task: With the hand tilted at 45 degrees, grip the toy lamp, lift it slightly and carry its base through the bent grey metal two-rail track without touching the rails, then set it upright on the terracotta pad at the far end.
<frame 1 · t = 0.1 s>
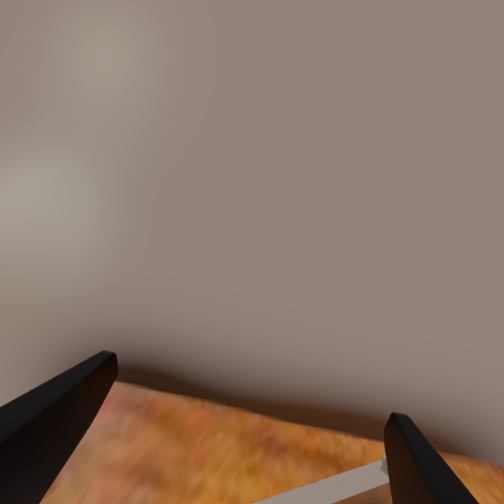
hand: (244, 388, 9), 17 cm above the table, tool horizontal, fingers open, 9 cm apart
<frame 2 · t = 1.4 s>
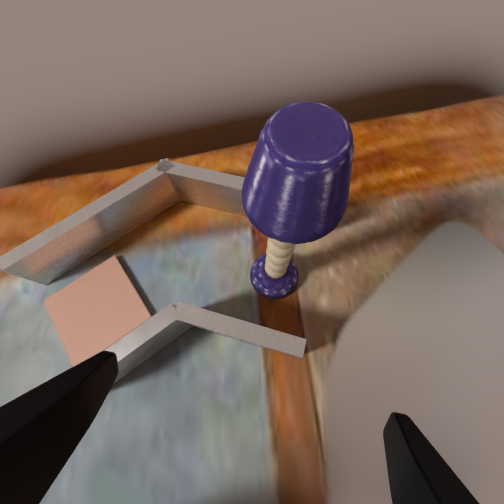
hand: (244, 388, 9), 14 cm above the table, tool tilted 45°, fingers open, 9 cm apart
bent rails: (185, 251, 25), on the table
end pad: (98, 309, 24), on the table
toy lamp: (277, 276, 24), on the table
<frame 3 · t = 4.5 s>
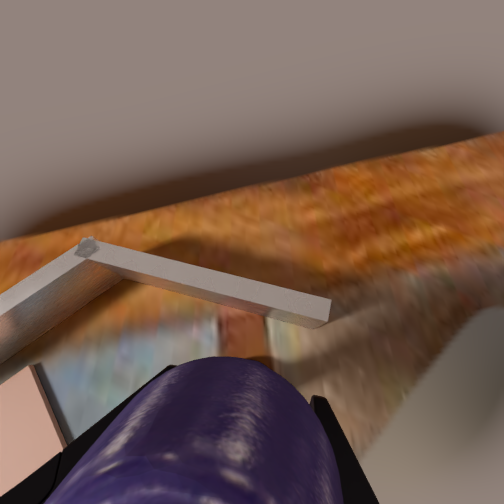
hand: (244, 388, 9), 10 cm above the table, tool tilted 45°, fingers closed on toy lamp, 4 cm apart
bent rails: (126, 355, 18), on the table
end pad: (1, 450, 17), on the table
toy lamp: (252, 395, 17), on the table, touching gripper
when the fingers open (10 cm above the table, at t = 10.5 s): toy lamp stays where it is, resting on end pad.
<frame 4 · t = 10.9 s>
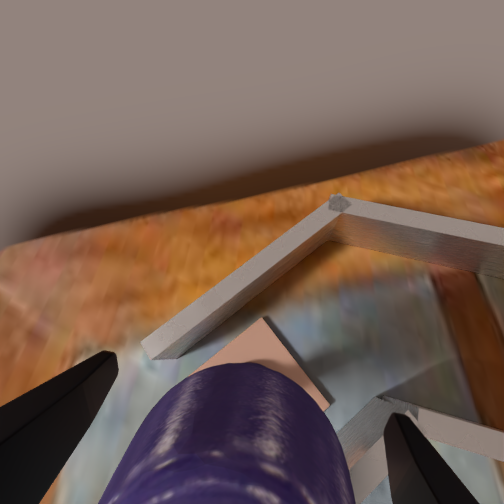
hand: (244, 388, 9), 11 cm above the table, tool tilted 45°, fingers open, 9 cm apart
bent rails: (350, 309, 20), on the table
end pad: (253, 393, 18), on the table
toy lamp: (255, 397, 18), resting on end pad
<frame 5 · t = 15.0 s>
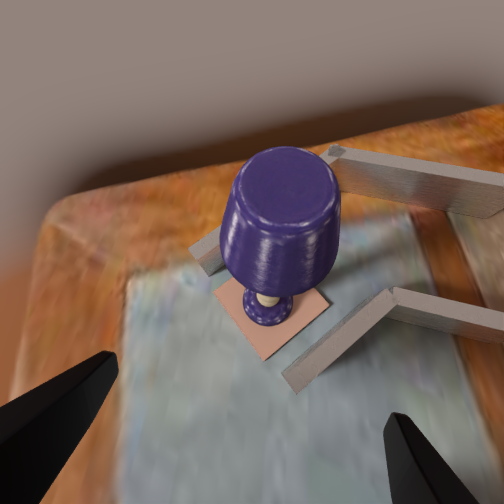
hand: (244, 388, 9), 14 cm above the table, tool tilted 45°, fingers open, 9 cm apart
bent rails: (345, 238, 25), on the table
end pad: (270, 299, 23), on the table
toy lamp: (271, 301, 23), resting on end pad
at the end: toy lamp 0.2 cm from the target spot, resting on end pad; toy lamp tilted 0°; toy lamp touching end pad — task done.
